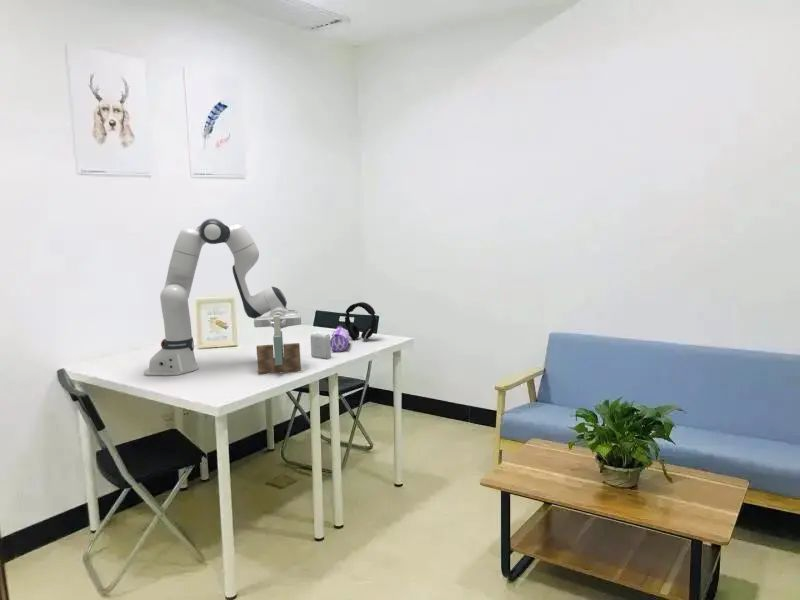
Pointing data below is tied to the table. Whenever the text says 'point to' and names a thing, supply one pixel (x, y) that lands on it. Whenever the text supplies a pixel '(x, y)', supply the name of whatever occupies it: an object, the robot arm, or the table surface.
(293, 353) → the walnut slotted board
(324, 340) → the photo printer
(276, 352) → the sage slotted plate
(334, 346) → the pencil case
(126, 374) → the table surface
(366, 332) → the headphones
